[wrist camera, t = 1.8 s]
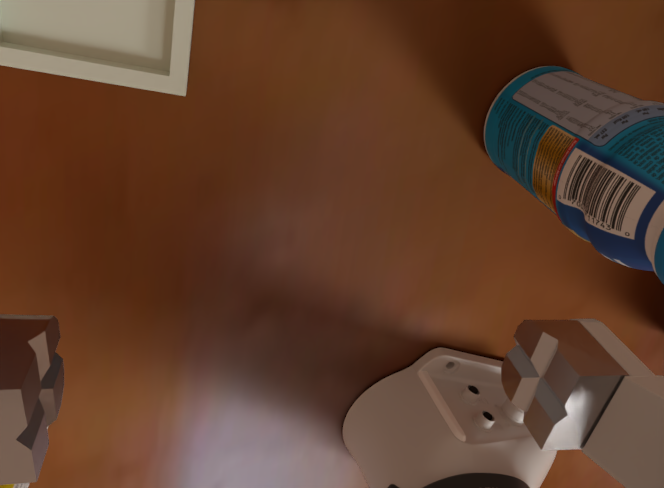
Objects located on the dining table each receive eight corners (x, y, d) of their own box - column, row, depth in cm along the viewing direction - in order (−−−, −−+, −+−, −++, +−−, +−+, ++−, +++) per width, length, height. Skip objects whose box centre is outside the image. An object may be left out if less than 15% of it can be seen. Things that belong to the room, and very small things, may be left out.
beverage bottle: (553, 34, 36) (855, 127, 19) (604, 119, 40) (891, 257, 23) (456, 122, 38) (652, 277, 21) (515, 194, 42) (718, 373, 25)
